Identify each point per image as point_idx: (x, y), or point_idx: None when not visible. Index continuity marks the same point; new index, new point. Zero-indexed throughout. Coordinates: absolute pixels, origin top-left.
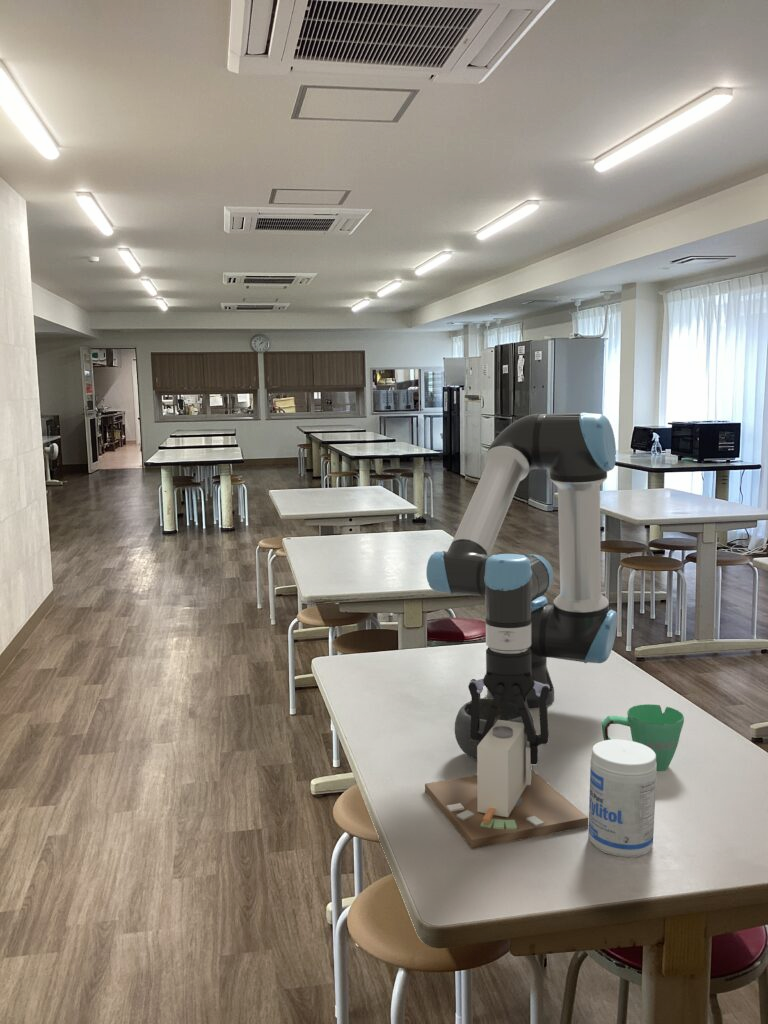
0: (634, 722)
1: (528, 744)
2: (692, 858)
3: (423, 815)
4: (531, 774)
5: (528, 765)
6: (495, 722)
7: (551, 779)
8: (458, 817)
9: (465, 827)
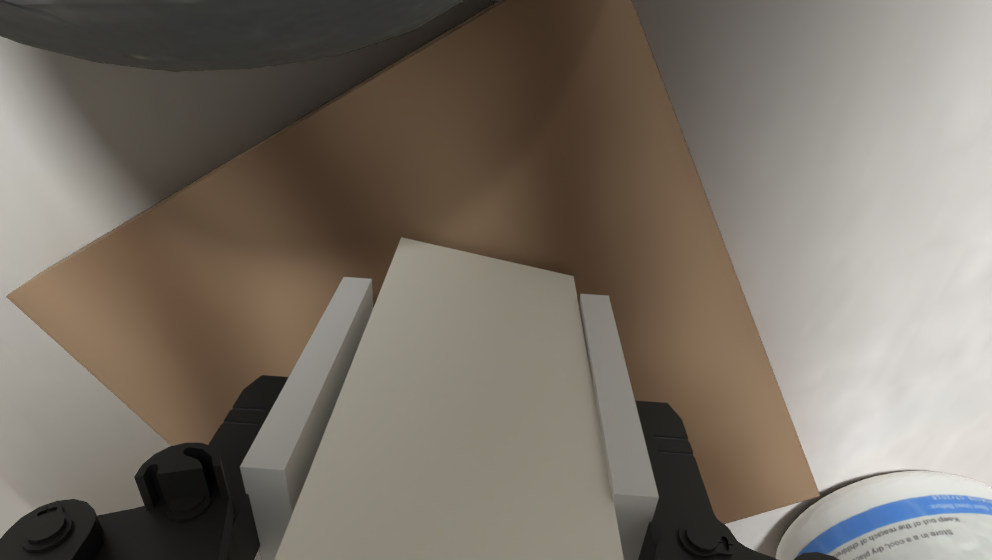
0: None
1: (624, 545)
2: None
3: (142, 450)
4: (618, 94)
5: None
6: (143, 2)
7: (756, 6)
8: None
9: None
